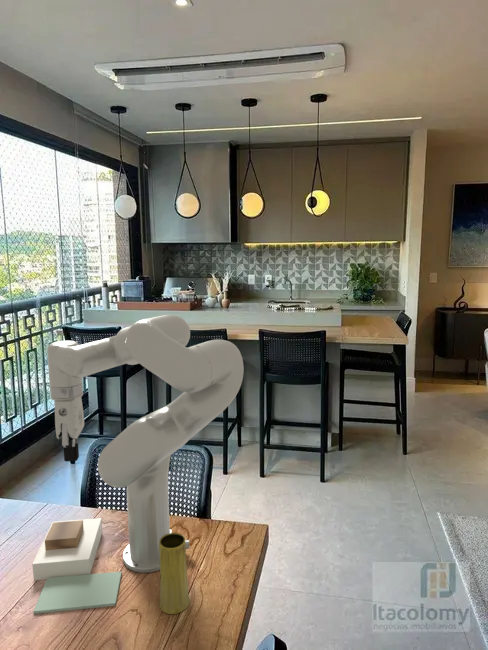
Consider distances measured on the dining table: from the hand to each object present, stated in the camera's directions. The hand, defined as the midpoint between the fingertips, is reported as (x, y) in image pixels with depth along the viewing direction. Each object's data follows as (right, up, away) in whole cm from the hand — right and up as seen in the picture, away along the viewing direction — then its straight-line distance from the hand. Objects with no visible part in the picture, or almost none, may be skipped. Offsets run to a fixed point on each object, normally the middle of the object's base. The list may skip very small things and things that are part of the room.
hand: (71, 459), depth 118 cm
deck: (+3, -21, -7) cm, 22 cm away
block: (+2, -17, -8) cm, 19 cm away
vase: (+30, -23, -23) cm, 44 cm away
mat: (+9, -23, -20) cm, 31 cm away
